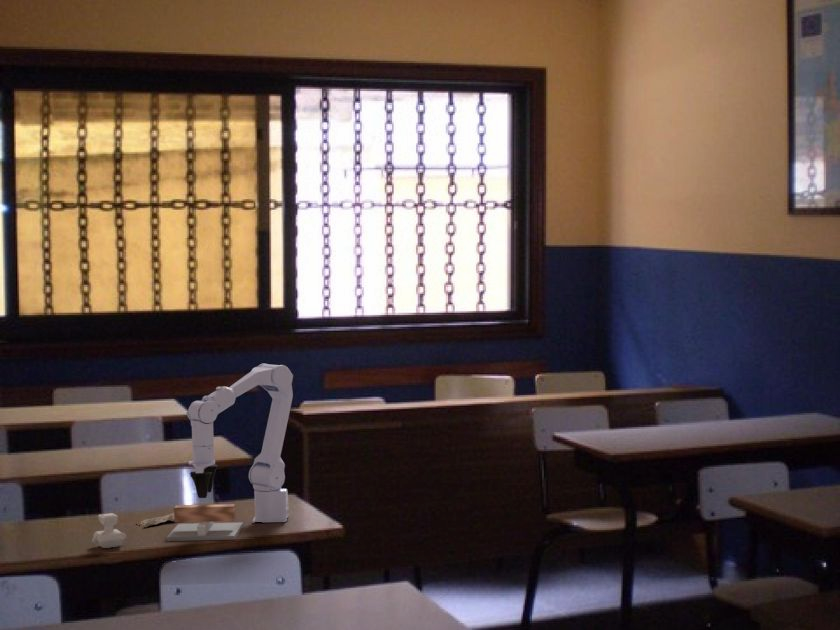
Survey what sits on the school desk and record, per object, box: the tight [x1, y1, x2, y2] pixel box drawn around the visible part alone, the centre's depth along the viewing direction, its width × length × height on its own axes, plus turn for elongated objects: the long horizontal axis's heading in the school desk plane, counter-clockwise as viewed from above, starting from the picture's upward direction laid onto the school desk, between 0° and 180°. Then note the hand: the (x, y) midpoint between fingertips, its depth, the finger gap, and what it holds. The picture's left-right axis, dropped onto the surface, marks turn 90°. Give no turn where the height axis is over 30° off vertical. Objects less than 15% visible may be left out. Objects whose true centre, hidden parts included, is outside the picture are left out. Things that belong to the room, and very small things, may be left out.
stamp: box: [91, 512, 127, 549], centre depth 334 cm, size 9×7×8 cm
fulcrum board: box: [166, 522, 244, 542], centre depth 347 cm, size 18×16×4 cm
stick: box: [173, 503, 236, 523], centre depth 346 cm, size 16×3×4 cm, turn 89°
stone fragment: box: [139, 511, 175, 528], centre depth 364 cm, size 25×3×10 cm
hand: (204, 494), depth 347 cm, fingers open, 7 cm apart
